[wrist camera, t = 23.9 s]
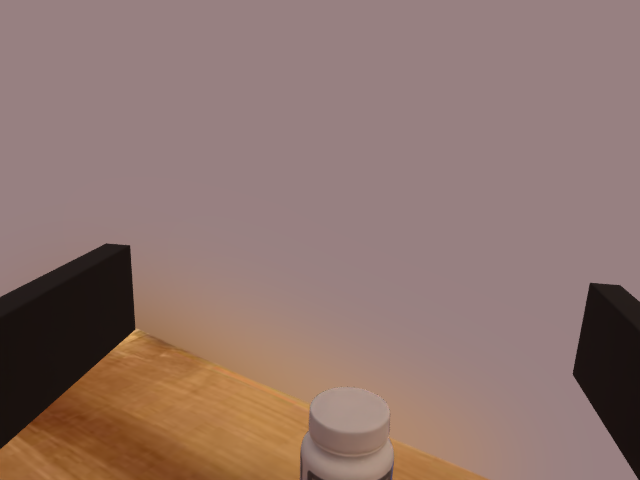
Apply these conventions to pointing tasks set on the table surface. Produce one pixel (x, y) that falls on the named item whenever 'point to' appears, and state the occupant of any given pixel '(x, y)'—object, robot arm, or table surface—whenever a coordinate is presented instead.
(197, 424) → the table surface
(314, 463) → the pill bottle
